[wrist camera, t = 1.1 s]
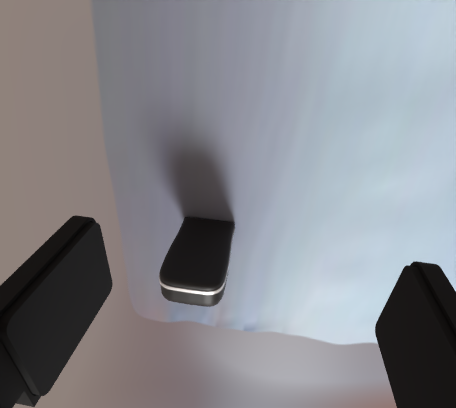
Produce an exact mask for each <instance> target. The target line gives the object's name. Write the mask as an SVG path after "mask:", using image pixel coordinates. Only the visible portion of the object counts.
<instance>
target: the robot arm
mask: <svg viewBox="0 0 456 408" xmlns="http://www.w3.org/2000/svg"><path fill="white" fill-rule="evenodd" d="M111 289H112V278H111V274H110V269H109V264H108V260H107V256H106V251H105V246H104V241H103V237H102V232H101V228H100V225H99V224H98V223H96V221H95V220H94V219H93V218H90V217H82V216H73V217H71V218H70V219H69V220H68V221H67V222H66V223H65V224H64V225H63V226H62V227H61V228H60V229H59V230H58V231H57V232H55V234H54V235H52V236H51V237H50V238H49V239H48V240H47V241H46V242H45V243H44V244H43V245H42V246H41V247H40V248H39V249H38V250H37V251H36V252H35V253H34V254H33V255H32V256H31V257H30V258H29V259H28V260H27V261H25V262H24V263H23V264H22V265H21V266H20V267H19V268H18V269H17V270H16V271H15V272H14V273H13V274H12V275H11V276H10V277H9V278H8V279H7V280H6V281H5V282H4V283H3V284H2V285H1V286H0V408H12V407H13V406H14V405H15V403H17V404H22V405H27V406H32V407H35V405H36V403H37V402H38V400H39V399H40V397H41V396H44V395H46V394H47V393H48V392H49V391H50V389H51V388H52V386H53V385H54V383H55V381H56V380H57V378H58V376H59V375H60V373H61V371H62V370H63V368H64V367H65V365H66V363H67V362H68V360H69V359H70V357H71V355H72V354H73V352H74V350H75V349H76V347H77V346H78V344H79V342H80V341H81V339H82V337H83V336H84V334H85V332H86V331H87V329H88V328H89V326H90V324H91V323H92V321H93V320H94V318H95V316H96V315H97V313H98V311H99V310H100V308H101V307H102V305H103V303H104V302H105V300H106V298H107V297H108V295H109V294H110V291H111ZM375 333H376V337H377V341H378V344H379V348H380V351H381V354H382V358H383V361H384V365H385V368H386V371H387V374H388V378H389V382H390V385H391V388H392V392H393V395H394V399H395V402H396V406H397V408H456V292H455V290H454V288H453V287H452V285H451V284H450V282H449V280H448V279H447V277H446V276H445V274H444V272H443V271H442V269H441V268H440V267H439V266H438V265H436V264H430V263H423V262H413V263H412V264H411V265H410V266H405V267H404V269H403V271H402V273H401V275H400V277H399V279H398V281H397V283H396V285H395V287H394V289H393V291H392V293H391V295H390V297H389V299H388V301H387V303H386V305H385V307H384V309H383V311H382V313H381V315H380V317H379V319H378V321H377V323H376V327H375Z"/></svg>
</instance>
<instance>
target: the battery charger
mask: <svg viewBox="0 0 456 408" xmlns="http://www.w3.org/2000/svg"><path fill="white" fill-rule="evenodd" d="M234 232H235V225H234V223H231V222H224V221H217V220H209V219H200V218H190V217H185V219H184V221H183V223H182V226H181V228H180V230H179V232H178V234H177V236H176V238H175V239H174V241H173V243H172V245H171V247H170V249H169V251H168V253H167V255H166V257H165V259H164V262H163V264H162V266H161V269H160V273H159V281H160V284H161V291H162V294H163V296H164V297H165V298H166V299H167V300H169V301H173V302H178V303H184V304H190V305H198V306H209V307H210V306H214V305H216V304H218V303H219V301H220V300H221V299H222V296H223V293H224V289H225V285H226V281H227V276H228V269H229V263H230V256H231V247H232V241H233V236H234Z"/></svg>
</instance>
